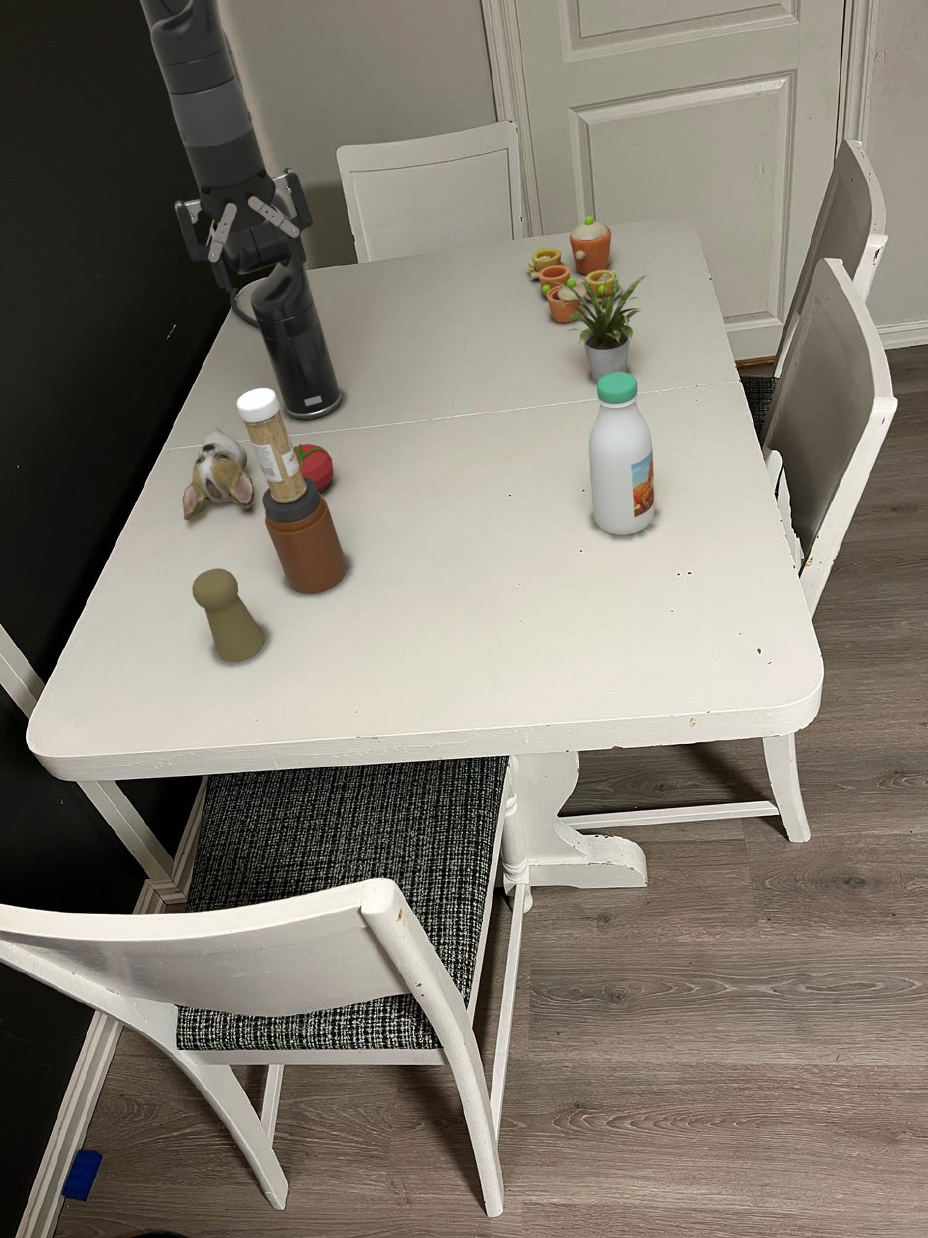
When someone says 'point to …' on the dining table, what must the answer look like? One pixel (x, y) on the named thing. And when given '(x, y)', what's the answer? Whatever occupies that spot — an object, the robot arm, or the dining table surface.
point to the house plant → (605, 330)
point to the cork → (227, 616)
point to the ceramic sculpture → (218, 475)
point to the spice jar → (272, 444)
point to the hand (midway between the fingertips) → (264, 278)
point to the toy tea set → (590, 260)
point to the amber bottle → (306, 541)
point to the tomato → (315, 464)
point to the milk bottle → (621, 459)
